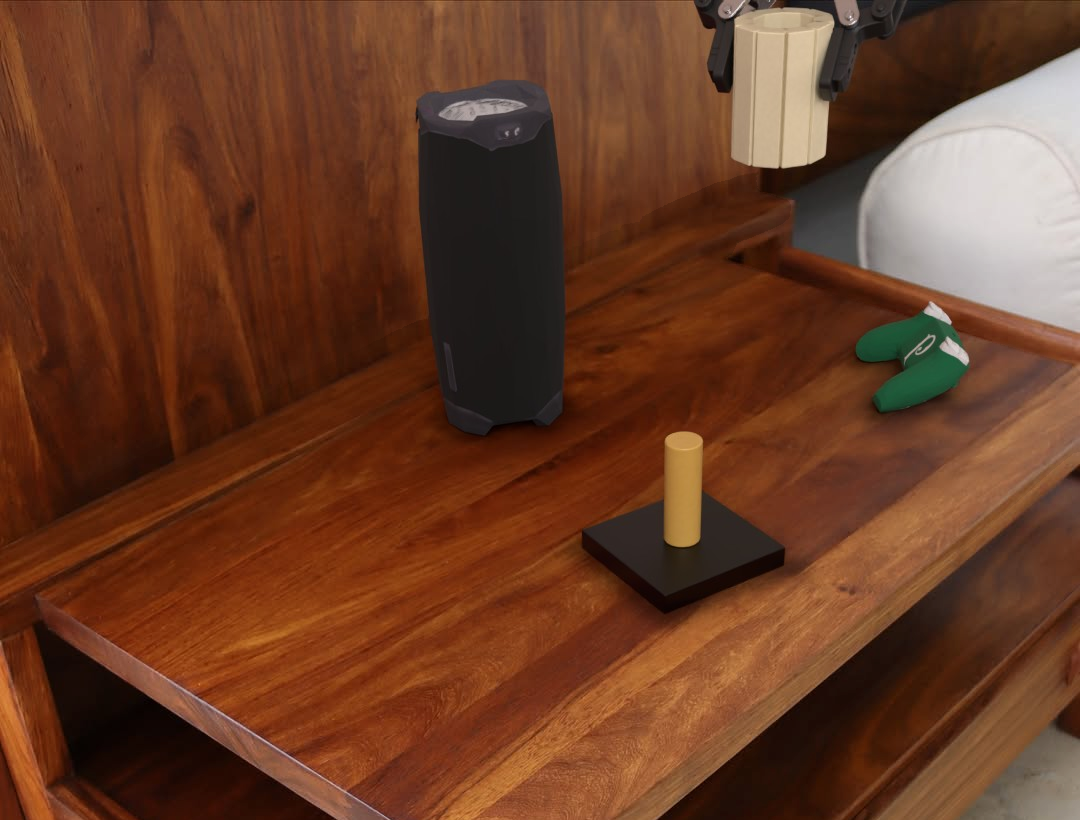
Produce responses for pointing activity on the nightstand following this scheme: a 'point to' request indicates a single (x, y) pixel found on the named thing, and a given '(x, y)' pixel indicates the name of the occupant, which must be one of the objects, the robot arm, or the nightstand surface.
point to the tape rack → (682, 538)
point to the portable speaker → (493, 252)
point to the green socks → (916, 358)
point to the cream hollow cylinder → (779, 87)
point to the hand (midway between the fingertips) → (773, 89)
